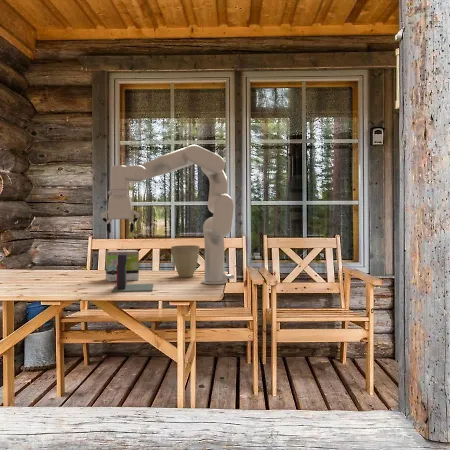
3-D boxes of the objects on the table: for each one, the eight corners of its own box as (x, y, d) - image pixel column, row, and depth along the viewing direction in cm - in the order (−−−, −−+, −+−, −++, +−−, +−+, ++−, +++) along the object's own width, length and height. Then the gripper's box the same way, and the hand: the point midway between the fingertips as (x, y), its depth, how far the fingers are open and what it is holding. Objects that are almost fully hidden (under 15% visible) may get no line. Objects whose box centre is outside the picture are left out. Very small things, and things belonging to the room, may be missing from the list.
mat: (153, 285, 206) (153, 283, 206) (152, 291, 190) (152, 289, 190) (116, 285, 204) (116, 284, 204) (111, 292, 188) (111, 290, 188)
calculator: (118, 285, 202) (117, 252, 201) (127, 285, 202) (127, 252, 202) (116, 289, 191) (115, 255, 190) (126, 289, 192) (126, 254, 191)
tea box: (108, 282, 215) (107, 251, 214) (105, 279, 224) (105, 250, 223) (139, 280, 220) (139, 250, 220) (135, 277, 229) (135, 249, 229)
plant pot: (201, 274, 240) (201, 245, 239) (197, 278, 225) (197, 247, 224) (174, 274, 241) (174, 244, 241) (168, 278, 226) (168, 247, 226)
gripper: (98, 193, 190) (99, 233, 191) (139, 193, 192) (139, 232, 193) (101, 194, 198) (101, 232, 198) (140, 194, 200) (140, 232, 200)
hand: (120, 232), depth 196 cm, fingers open, 9 cm apart
